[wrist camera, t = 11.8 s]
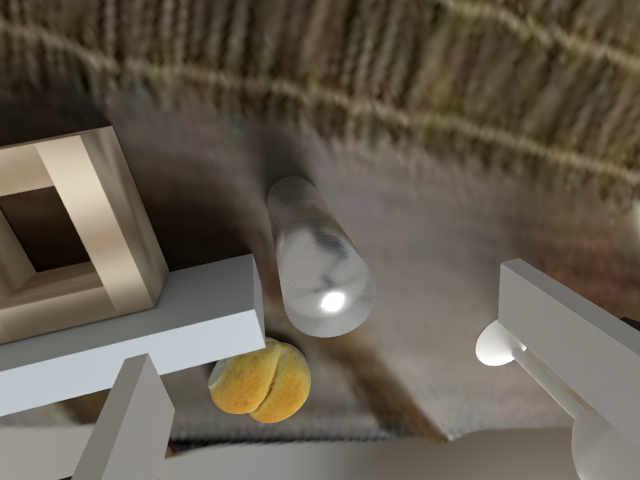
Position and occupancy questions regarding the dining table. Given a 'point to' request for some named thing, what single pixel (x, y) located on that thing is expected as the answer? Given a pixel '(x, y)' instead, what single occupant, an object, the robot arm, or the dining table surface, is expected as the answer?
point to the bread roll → (262, 382)
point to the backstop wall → (141, 337)
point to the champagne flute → (589, 427)
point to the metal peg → (317, 262)
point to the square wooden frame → (94, 230)
